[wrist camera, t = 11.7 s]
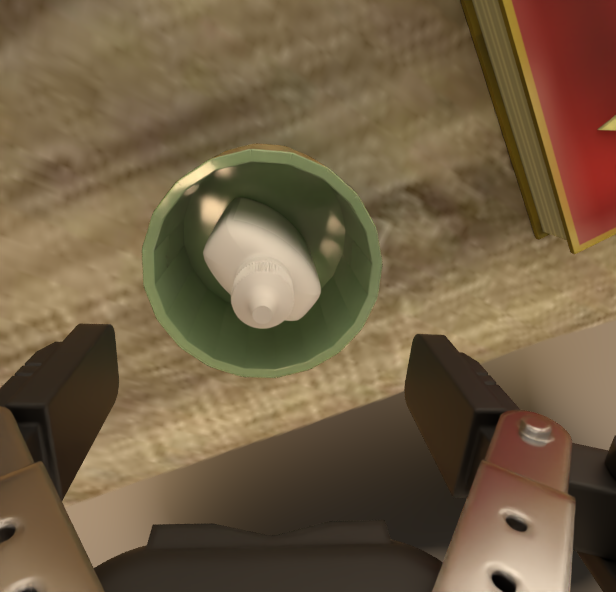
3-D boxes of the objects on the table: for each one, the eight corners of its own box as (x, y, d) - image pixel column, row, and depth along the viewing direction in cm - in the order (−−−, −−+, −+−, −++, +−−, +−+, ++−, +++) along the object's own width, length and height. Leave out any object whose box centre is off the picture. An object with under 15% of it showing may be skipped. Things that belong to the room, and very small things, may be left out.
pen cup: (175, 136, 25) (136, 139, 17) (360, 151, 26) (398, 161, 18) (179, 310, 28) (147, 374, 21) (340, 317, 30) (365, 380, 22)
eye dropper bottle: (279, 178, 26) (288, 216, 14) (315, 264, 28) (347, 356, 16) (210, 207, 26) (166, 268, 15) (251, 290, 28) (239, 399, 17)
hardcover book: (654, -279, 20) (746, -376, 16) (714, 148, 28) (788, 152, 24) (417, -137, 21) (450, -197, 17) (535, 238, 29) (577, 255, 25)
